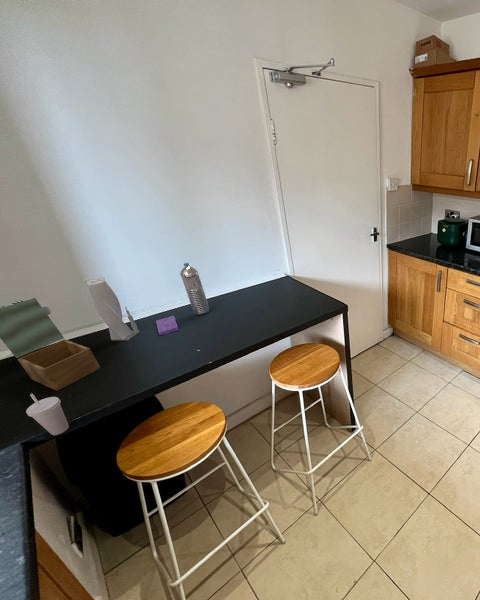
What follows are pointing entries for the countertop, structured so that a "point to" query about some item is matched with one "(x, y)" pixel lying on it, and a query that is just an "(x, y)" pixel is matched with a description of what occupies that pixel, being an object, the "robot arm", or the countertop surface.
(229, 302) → the countertop surface
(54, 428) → the smoothie
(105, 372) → the countertop surface
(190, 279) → the water bottle
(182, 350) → the countertop surface
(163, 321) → the sponge
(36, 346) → the lid
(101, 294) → the skyscraper
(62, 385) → the wooden box
